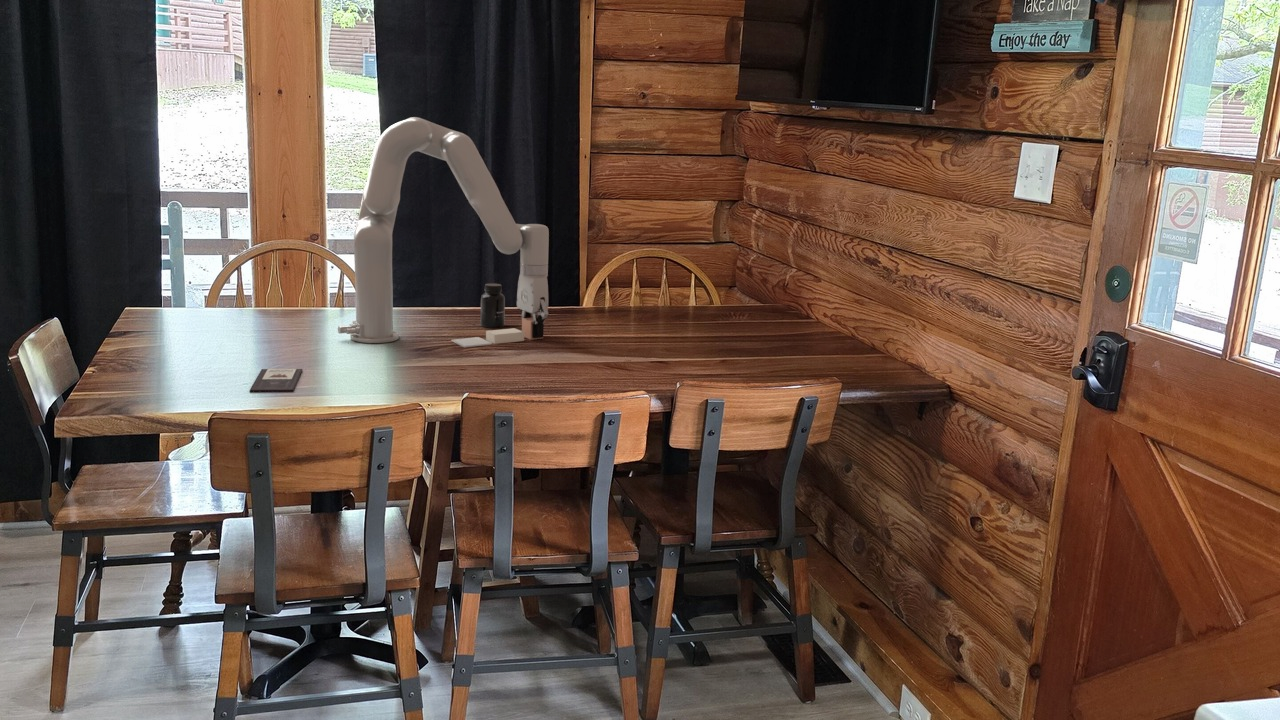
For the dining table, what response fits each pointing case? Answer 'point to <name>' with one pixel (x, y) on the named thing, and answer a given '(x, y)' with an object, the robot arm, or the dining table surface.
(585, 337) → the dining table surface
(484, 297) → the supplement bottle
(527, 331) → the tan wooden block
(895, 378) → the dining table surface
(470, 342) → the mat
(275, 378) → the chocolate bar
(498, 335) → the cream rectangular block
